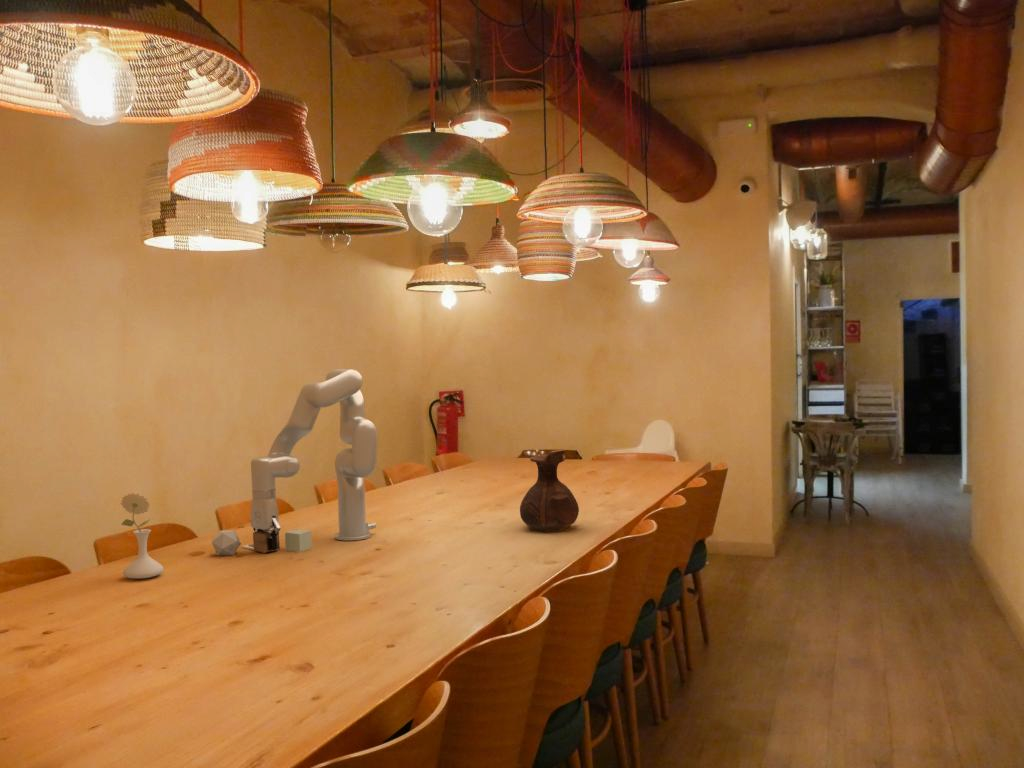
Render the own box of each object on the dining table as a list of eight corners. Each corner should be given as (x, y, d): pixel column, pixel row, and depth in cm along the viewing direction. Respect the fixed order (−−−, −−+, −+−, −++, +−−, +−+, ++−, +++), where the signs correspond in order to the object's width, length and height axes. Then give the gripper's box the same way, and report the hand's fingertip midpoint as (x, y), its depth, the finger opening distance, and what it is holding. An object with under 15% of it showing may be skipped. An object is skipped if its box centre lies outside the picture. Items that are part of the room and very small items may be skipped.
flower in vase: (172, 573, 268) (169, 491, 268) (145, 583, 258) (142, 497, 257) (137, 570, 273) (134, 489, 272) (109, 580, 262) (106, 495, 261)
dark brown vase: (510, 532, 320) (508, 449, 319) (531, 521, 340) (530, 443, 339) (568, 536, 312) (566, 450, 311) (586, 524, 332) (585, 444, 331)
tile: (262, 543, 309) (262, 541, 309) (276, 546, 304) (276, 544, 304) (242, 547, 303) (242, 545, 303) (255, 550, 298) (255, 548, 298)
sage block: (297, 546, 303) (296, 529, 303) (311, 548, 301) (310, 530, 300) (285, 550, 298) (285, 532, 298) (299, 552, 295) (299, 534, 295)
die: (224, 560, 287) (242, 534, 290) (202, 546, 289) (220, 521, 291) (231, 563, 295) (249, 538, 298) (210, 550, 296) (228, 525, 299)
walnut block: (269, 546, 301) (268, 529, 301) (279, 549, 297) (278, 531, 297) (253, 550, 296) (252, 532, 296) (264, 552, 292) (263, 534, 292)
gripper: (239, 494, 299) (242, 547, 299) (269, 498, 287) (272, 553, 288) (259, 490, 304) (261, 543, 305) (288, 495, 293) (291, 549, 294)
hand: (266, 547), depth 297 cm, fingers closed on walnut block, 6 cm apart
